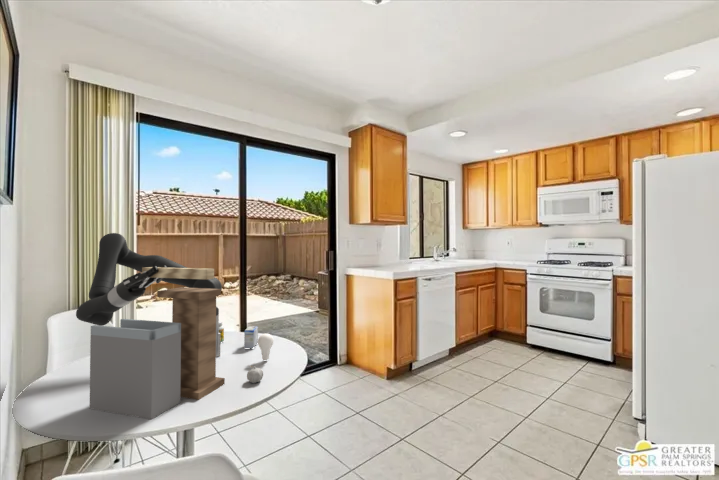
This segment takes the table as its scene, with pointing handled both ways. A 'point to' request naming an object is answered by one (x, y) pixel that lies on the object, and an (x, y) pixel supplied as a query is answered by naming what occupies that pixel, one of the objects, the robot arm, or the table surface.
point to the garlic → (255, 374)
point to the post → (196, 339)
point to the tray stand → (135, 367)
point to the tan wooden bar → (182, 273)
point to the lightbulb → (265, 345)
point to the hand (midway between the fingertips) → (161, 268)
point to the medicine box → (251, 337)
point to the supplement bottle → (221, 332)
